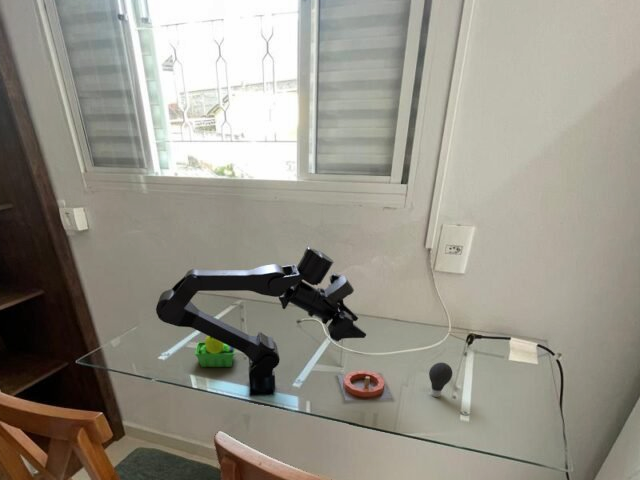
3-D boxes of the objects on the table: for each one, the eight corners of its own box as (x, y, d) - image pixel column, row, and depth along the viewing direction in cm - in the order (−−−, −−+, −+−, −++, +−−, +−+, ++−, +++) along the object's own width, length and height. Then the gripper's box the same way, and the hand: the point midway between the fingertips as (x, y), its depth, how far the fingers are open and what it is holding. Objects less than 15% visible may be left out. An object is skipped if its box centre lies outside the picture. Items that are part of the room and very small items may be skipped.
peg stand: (345, 402, 108) (347, 386, 105) (337, 376, 118) (338, 361, 115) (392, 400, 109) (395, 384, 106) (379, 375, 119) (382, 359, 116)
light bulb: (446, 393, 111) (455, 360, 105) (445, 404, 107) (454, 371, 101) (424, 389, 113) (432, 357, 107) (423, 400, 109) (430, 367, 103)
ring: (347, 397, 109) (348, 392, 108) (340, 376, 117) (341, 371, 116) (388, 395, 109) (389, 390, 108) (378, 374, 118) (378, 370, 117)
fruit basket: (237, 356, 128) (234, 322, 121) (235, 371, 121) (232, 335, 114) (200, 357, 128) (195, 322, 121) (196, 371, 121) (190, 336, 114)
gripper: (336, 285, 88) (391, 317, 94) (322, 256, 103) (371, 286, 109) (308, 327, 94) (362, 355, 100) (299, 294, 108) (346, 320, 114)
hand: (361, 327), depth 105 cm, fingers open, 9 cm apart
